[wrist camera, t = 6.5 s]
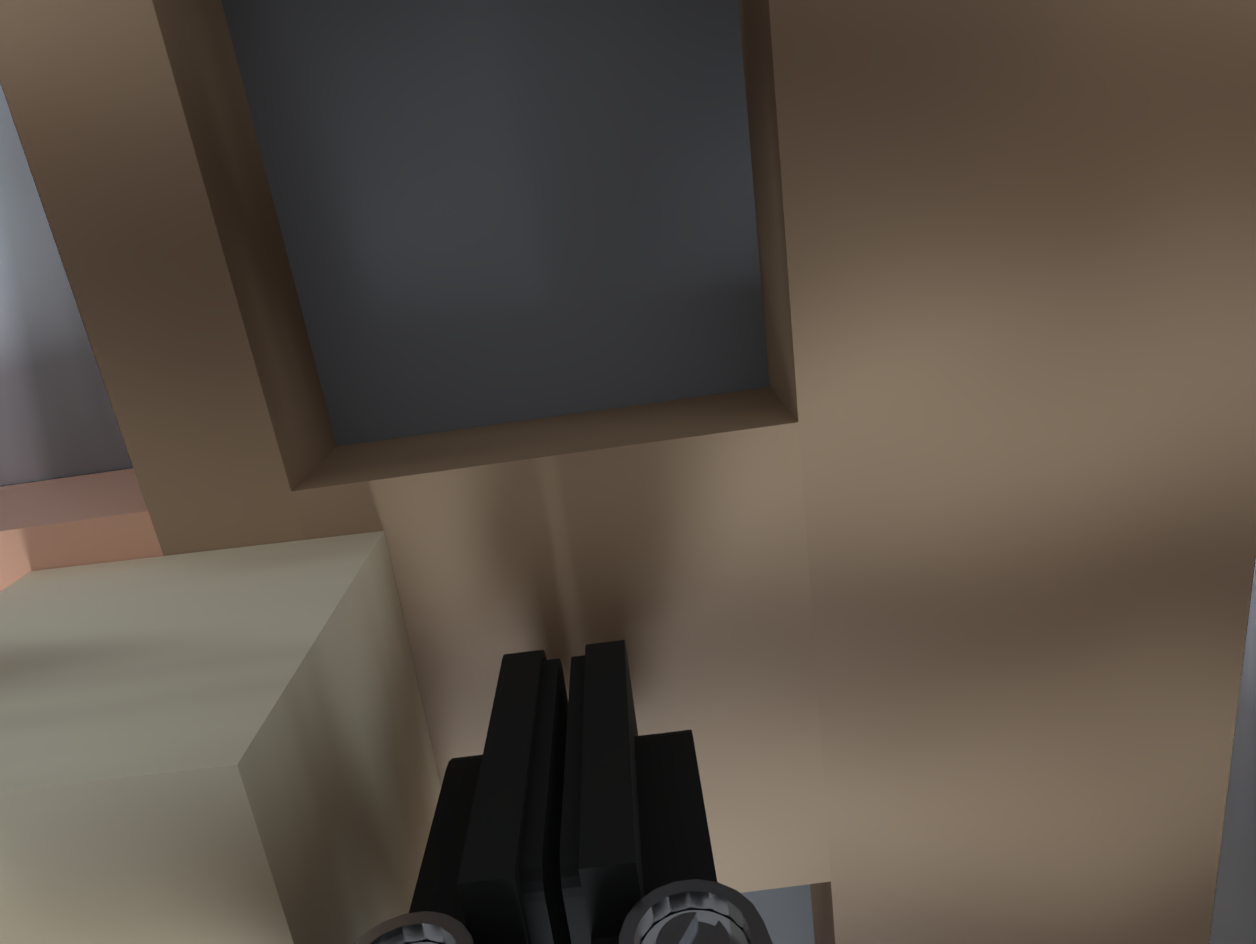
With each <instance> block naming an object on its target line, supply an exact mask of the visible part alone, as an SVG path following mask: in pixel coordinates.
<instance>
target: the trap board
mask: <svg viewBox="0 0 1256 944" xmlns="http://www.w3.org/2000/svg"><path fill="white" fill-rule="evenodd" d="M0 83H1V86H2V89H3V92H4V95H5V98H6V101H7V104H8V106H9V109H10V112H11V115H12V118H13V121H14V124H15V127H16V130H17V133H18V135H19V138H20V141H21V144H22V147H23V150H24V153H25V156H26V159H27V162H28V164H29V167H30V170H31V173H32V176H33V179H34V182H35V185H36V188H37V190H38V193H39V196H40V199H41V202H42V205H43V208H44V211H45V214H46V217H47V219H48V222H49V225H50V228H51V231H52V234H53V237H54V240H55V243H56V246H57V248H58V251H59V254H60V257H61V260H62V263H63V266H64V269H65V272H66V275H67V277H68V280H69V283H70V286H71V289H72V292H73V295H74V298H75V301H76V304H77V306H78V309H79V312H80V315H81V318H82V321H83V324H84V327H85V330H86V332H87V335H88V338H89V341H90V344H91V347H92V350H93V353H94V356H95V359H96V361H97V364H98V367H99V370H100V373H101V376H102V379H103V382H104V385H105V388H106V390H107V393H108V396H109V399H110V402H111V405H112V408H113V411H114V414H115V417H116V419H117V422H118V425H119V428H120V431H121V434H122V437H123V440H124V443H125V446H126V448H127V451H128V454H129V457H130V460H131V463H132V466H133V468H131V469H124V470H117V471H109V472H102V473H95V474H88V475H80V476H73V477H66V478H58V479H51V480H44V481H37V482H29V483H22V484H15V485H8V486H0V592H1V591H2V590H4V589H5V588H7V587H8V586H9V585H11V584H12V583H14V582H15V581H17V580H18V579H20V578H21V577H23V576H24V575H26V574H27V573H29V572H30V571H36V570H44V569H53V568H62V567H71V566H79V565H88V564H97V563H106V562H115V561H123V560H132V559H141V558H150V557H159V556H167V555H176V554H185V553H194V552H202V551H211V550H220V549H229V548H238V547H246V546H255V545H264V544H273V543H281V542H290V541H299V540H308V539H317V538H325V537H334V536H343V535H352V534H361V533H369V532H378V531H384V534H385V538H386V543H387V547H388V552H389V556H390V561H391V565H392V570H393V574H394V578H395V583H396V587H397V592H398V596H399V601H400V605H401V610H402V614H403V619H404V623H405V628H406V632H407V637H408V641H409V646H410V650H411V655H412V659H413V663H414V668H415V672H416V677H417V681H418V686H419V690H420V695H421V699H422V704H423V708H424V713H425V717H426V722H427V726H428V731H429V735H430V740H431V744H432V748H433V753H434V757H435V762H436V766H437V771H438V775H439V780H440V784H441V786H442V782H443V779H444V775H445V771H446V768H447V765H448V763H449V761H450V760H451V759H452V758H458V757H467V756H475V755H483V751H484V746H485V741H486V736H487V731H488V727H489V722H490V717H491V712H492V707H493V702H494V697H495V692H496V687H497V682H498V677H499V672H500V667H501V662H502V658H503V655H504V654H511V653H519V652H527V651H535V650H544V651H545V654H546V657H547V660H549V659H557V658H560V660H561V663H562V668H563V674H564V680H565V686H566V692H567V698H568V699H569V682H570V666H571V657H574V656H582V655H585V645H586V644H593V643H601V642H610V641H618V640H625V644H626V650H627V657H628V664H629V671H630V679H631V686H632V693H633V701H634V708H635V715H636V722H637V730H638V736H641V735H650V734H658V733H666V732H675V731H683V730H692V734H693V739H694V745H695V751H696V757H697V763H698V769H699V775H700V781H701V787H702V793H703V799H704V805H705V811H706V817H707V823H708V829H709V835H710V841H711V847H712V853H713V859H714V865H715V871H716V877H717V882H719V883H721V884H723V885H726V886H728V887H730V888H733V889H735V890H737V891H738V892H740V893H741V894H742V895H743V896H744V897H746V898H747V899H748V900H749V901H750V902H752V903H753V905H754V906H755V908H756V909H757V911H758V913H759V914H760V916H761V917H762V919H763V921H764V923H765V925H766V928H767V930H768V933H769V935H770V938H771V940H772V943H773V944H1209V941H1210V933H1211V925H1212V916H1213V908H1214V900H1215V891H1216V883H1217V875H1218V866H1219V858H1220V850H1221V841H1222V833H1223V825H1224V816H1225V808H1226V800H1227V791H1228V783H1229V775H1230V766H1231V758H1232V750H1233V741H1234V733H1235V725H1236V716H1237V708H1238V700H1239V691H1240V683H1241V675H1242V666H1243V658H1244V650H1245V641H1246V633H1247V625H1248V616H1249V608H1250V600H1251V591H1252V583H1253V575H1254V566H1255V558H1256V0H0Z"/></svg>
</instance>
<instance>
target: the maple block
mask: <svg viewBox="0 0 1256 944" xmlns="http://www.w3.org/2000/svg"><path fill="white" fill-rule="evenodd" d="M440 790H441V784H440V780H439V775H438V771H437V766H436V762H435V757H434V753H433V748H432V744H431V740H430V735H429V731H428V726H427V722H426V717H425V713H424V708H423V704H422V699H421V695H420V690H419V686H418V681H417V677H416V672H415V668H414V663H413V659H412V655H411V650H410V646H409V641H408V637H407V632H406V628H405V623H404V619H403V614H402V610H401V605H400V601H399V596H398V592H397V587H396V583H395V578H394V574H393V570H392V565H391V561H390V556H389V552H388V547H387V543H386V538H385V534H384V531H378V532H369V533H361V534H352V535H343V536H334V537H325V538H317V539H308V540H299V541H290V542H281V543H273V544H264V545H255V546H246V547H238V548H229V549H220V550H211V551H202V552H194V553H185V554H176V555H167V556H159V557H150V558H141V559H132V560H123V561H115V562H106V563H97V564H88V565H79V566H71V567H62V568H53V569H44V570H36V571H30V572H29V573H27V574H26V575H24V576H23V577H21V578H20V579H18V580H17V581H15V582H14V583H12V584H11V585H9V586H8V587H7V588H5V589H4V590H2V591H1V592H0V944H353V943H354V942H356V941H357V940H358V939H359V938H360V937H361V936H362V935H363V934H364V933H366V932H368V931H369V930H371V929H372V928H374V927H376V926H377V925H379V924H380V923H382V922H384V921H386V920H389V919H392V918H395V917H397V916H400V915H403V914H406V913H409V910H410V906H411V902H412V898H413V894H414V890H415V887H416V883H417V879H418V875H419V871H420V867H421V863H422V860H423V856H424V852H425V848H426V844H427V840H428V836H429V833H430V829H431V825H432V821H433V817H434V813H435V809H436V806H437V802H438V798H439V794H440Z"/></svg>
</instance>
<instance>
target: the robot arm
mask: <svg viewBox="0 0 1256 944" xmlns="http://www.w3.org/2000/svg"><path fill="white" fill-rule="evenodd" d="M353 944H773V943H772V940H771V938H770V935H769V933H768V930H767V928H766V925H765V923H764V921H763V919H762V917H761V916H760V914H759V913H758V911H757V909H756V908H755V906H754V905H753V903H752V902H750V901H749V900H748V899H747V898H746V897H744V896H743V895H742V894H741V893H740V892H738V891H737V890H735V889H733V888H730V887H728V886H726V885H723V884H721V883H719V882H717V877H716V871H715V865H714V859H713V853H712V847H711V841H710V835H709V829H708V823H707V817H706V811H705V805H704V799H703V793H702V787H701V781H700V775H699V769H698V763H697V757H696V751H695V745H694V739H693V734H692V730H683V731H675V732H666V733H658V734H650V735H641V736H638V730H637V722H636V715H635V708H634V701H633V693H632V686H631V679H630V671H629V664H628V657H627V650H626V644H625V640H618V641H610V642H601V643H593V644H586V645H585V655H582V656H574V657H571V666H570V682H569V699H568V698H567V692H566V686H565V680H564V674H563V668H562V663H561V660H560V658H557V659H549V660H547V657H546V654H545V651H544V650H535V651H527V652H519V653H511V654H504V655H503V658H502V662H501V667H500V672H499V677H498V682H497V687H496V692H495V697H494V702H493V707H492V712H491V717H490V722H489V727H488V731H487V736H486V741H485V746H484V751H483V755H475V756H467V757H458V758H452V759H451V760H450V761H449V763H448V765H447V768H446V771H445V775H444V779H443V782H442V786H441V790H440V794H439V798H438V802H437V806H436V809H435V813H434V817H433V821H432V825H431V829H430V833H429V836H428V840H427V844H426V848H425V852H424V856H423V860H422V863H421V867H420V871H419V875H418V879H417V883H416V887H415V890H414V894H413V898H412V902H411V906H410V910H409V913H406V914H403V915H400V916H397V917H395V918H392V919H389V920H386V921H384V922H382V923H380V924H379V925H377V926H376V927H374V928H372V929H371V930H369V931H368V932H366V933H364V934H363V935H362V936H361V937H360V938H359V939H358V940H357V941H356V942H354V943H353Z"/></svg>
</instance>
